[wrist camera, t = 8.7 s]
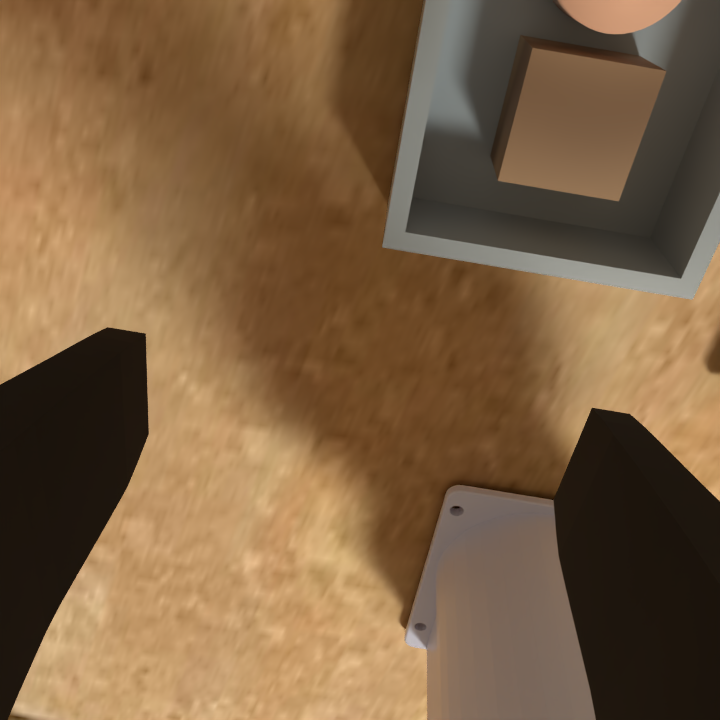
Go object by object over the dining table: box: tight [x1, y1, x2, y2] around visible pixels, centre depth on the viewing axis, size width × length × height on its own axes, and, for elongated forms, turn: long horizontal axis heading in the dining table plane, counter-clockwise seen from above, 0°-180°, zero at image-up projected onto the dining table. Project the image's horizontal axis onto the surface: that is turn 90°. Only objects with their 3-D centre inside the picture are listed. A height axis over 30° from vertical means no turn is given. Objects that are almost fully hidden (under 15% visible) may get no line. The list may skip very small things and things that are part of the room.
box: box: [382, 0, 720, 300], centre depth 16 cm, size 10×8×3 cm
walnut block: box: [490, 35, 666, 201], centre depth 17 cm, size 3×3×2 cm
